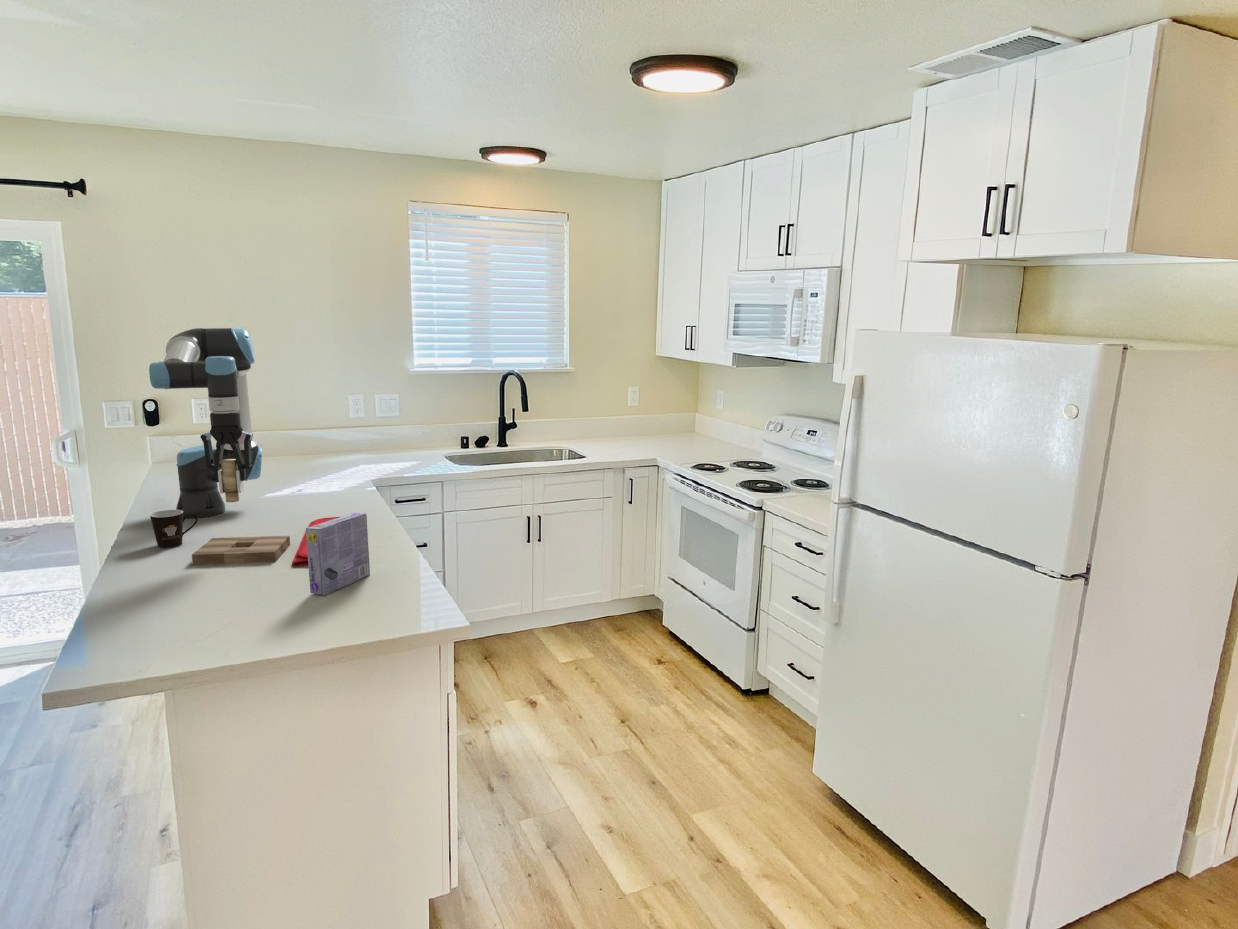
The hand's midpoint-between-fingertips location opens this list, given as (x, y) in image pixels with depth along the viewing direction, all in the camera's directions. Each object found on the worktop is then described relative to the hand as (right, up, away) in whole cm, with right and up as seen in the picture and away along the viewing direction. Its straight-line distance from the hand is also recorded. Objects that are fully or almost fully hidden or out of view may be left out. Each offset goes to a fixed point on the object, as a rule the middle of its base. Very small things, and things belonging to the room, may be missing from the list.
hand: (231, 491), depth 216 cm
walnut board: (+1, -19, +4) cm, 19 cm away
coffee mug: (-23, -17, +12) cm, 31 cm away
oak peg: (0, -3, 0) cm, 3 cm away
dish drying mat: (+22, -17, +16) cm, 32 cm away
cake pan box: (+38, -24, -17) cm, 49 cm away
